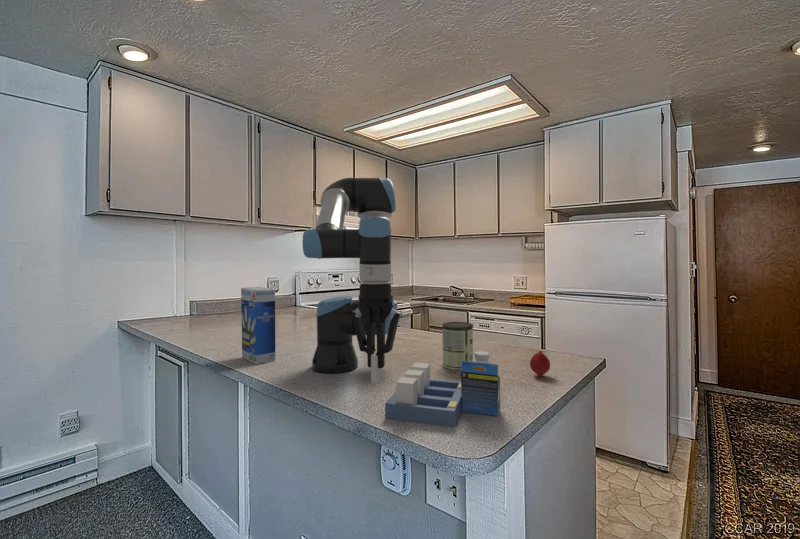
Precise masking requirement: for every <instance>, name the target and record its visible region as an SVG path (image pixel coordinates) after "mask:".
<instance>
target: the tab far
mask: <svg viewBox="0 0 800 539" xmlns="http://www.w3.org/2000/svg"><path fill="white" fill-rule="evenodd" d="M411 370H420V371H424V386H430V379H431V363H423V362H414V364H413V365H412V366H411Z"/></svg>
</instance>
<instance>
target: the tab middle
mask: <svg viewBox="0 0 800 539" xmlns="http://www.w3.org/2000/svg"><path fill="white" fill-rule="evenodd" d="M403 377H406V378H416V379H417V394H419V395H424V371H420V370H412V369H408V370H406V372H405V373H404V375H403Z"/></svg>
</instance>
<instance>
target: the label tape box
mask: <svg viewBox="0 0 800 539" xmlns="http://www.w3.org/2000/svg"><path fill="white" fill-rule="evenodd" d="M478 366H480V367H481V368H485V371H481V370H474V369H473V367H478ZM460 379H461V380H460V382H461V412H465V413H472V414H480V415H481V414H482V415H488V416H493V417H499V414H500V411H501V377H500V376H499V364H497V363H496V364H495V363H494V364H493V363H492V364H486V363H478V362H469V361H462V368H461V370H460Z"/></svg>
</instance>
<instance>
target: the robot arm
mask: <svg viewBox="0 0 800 539" xmlns="http://www.w3.org/2000/svg"><path fill="white" fill-rule="evenodd" d="M319 203H320V206H321V208H320V211H319V215H318V216H317V217H318V218H317V221H316V224H315V228H312V229H305V230H304V231H303V234H302V243H301V244H302V252H303V255H304V256H305V258H308V259H318V260H322V259H359V282H361V283H360V284H359V294H358V300H353V297H352V296H351V295H348V296H347V295H346V296H345V295H344V296H335V297H330V298H325V299H322V300H320V301H319V302H318V303H317V305H316V315H315V317H316V341H317V342H316V347H315V348H316V349H315V351H314V355H313V358H312V360H311V369H312V370H313V371H314V372H317V373H321V374H341V373H342V374H343V373H347V372H351V371H354V370H355V369H357V368H358V367H359V358H358V355H357V353H356V350H355V346H354V345H353V336H356V340H357V343H358V347H359V351H360V352H364V353H366V355H367V367H368V368H370V376H371V378H370V382H371V383H373V384H378V383H379V382H380V381H382V369H383V368H384V367H385V362H386V360H385V358H386V356H385V354H388V353H390V352H391V351H392V350H393V348H394V342H395V338H396V334H397V329H398V326H399V321H400V320H401V318H402V317H403V312H402V311H398V300H397V299H394V294H393V293H392V285H391V283H389V282H391V281H392V261H391V260H392V259H391V258H392V253H391V252H392V251H391V250H392V243H391V242H392V240H391V239H392V237H391V236H392V229H391V221H390V219H391V218H392V215H393V214H392V213H394V212H396V210H397V208H396V205H397V204H396V195H395V188H394V184H393V182H392V180H391V179H390V178H387V177H386V178H383V177H344V178H341V179H338V180H337V181H334V182H332V183H330V185H328V186H327V187H326V188H325V189H324V190H323V192H322V194H321V197H320V201H319ZM348 212H351V213H352V212H353V213H354V212H355V213H358V214H357V216H358V218H359V219H360V220H359V223H358V228H357V229H353V228H352V229H347V228H345V229H344V224H345V217H346V213H348Z"/></svg>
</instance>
